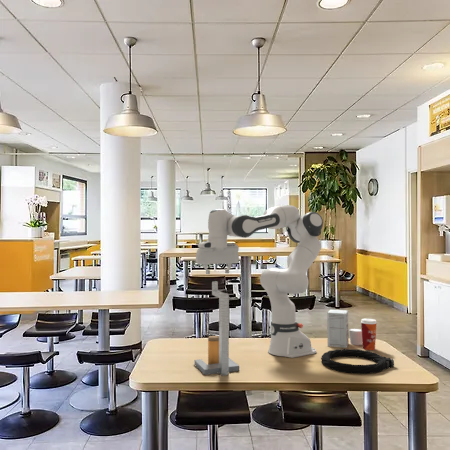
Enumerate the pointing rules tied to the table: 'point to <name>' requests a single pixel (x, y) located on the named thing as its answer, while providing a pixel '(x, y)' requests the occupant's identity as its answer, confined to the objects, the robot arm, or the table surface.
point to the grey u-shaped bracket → (214, 367)
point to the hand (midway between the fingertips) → (217, 273)
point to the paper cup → (368, 333)
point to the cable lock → (359, 369)
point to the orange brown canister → (213, 349)
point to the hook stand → (223, 329)
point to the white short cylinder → (355, 336)
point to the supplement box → (337, 328)
